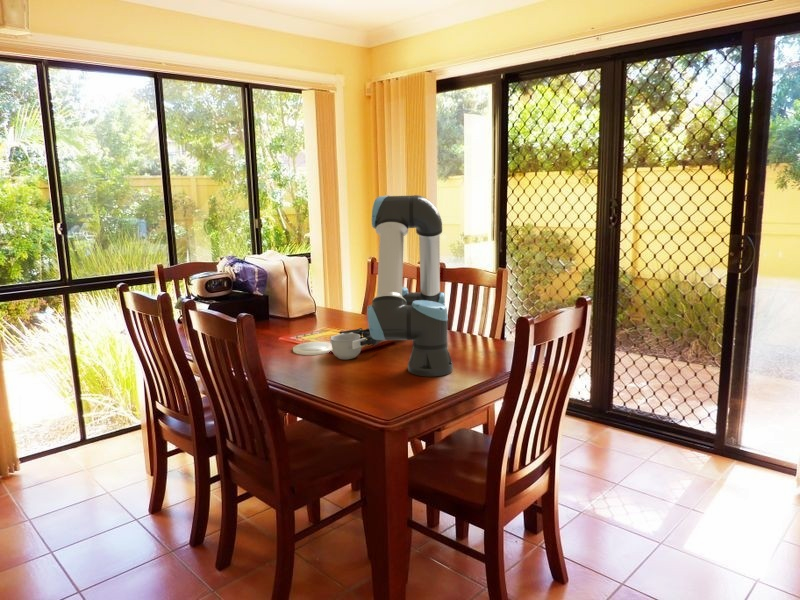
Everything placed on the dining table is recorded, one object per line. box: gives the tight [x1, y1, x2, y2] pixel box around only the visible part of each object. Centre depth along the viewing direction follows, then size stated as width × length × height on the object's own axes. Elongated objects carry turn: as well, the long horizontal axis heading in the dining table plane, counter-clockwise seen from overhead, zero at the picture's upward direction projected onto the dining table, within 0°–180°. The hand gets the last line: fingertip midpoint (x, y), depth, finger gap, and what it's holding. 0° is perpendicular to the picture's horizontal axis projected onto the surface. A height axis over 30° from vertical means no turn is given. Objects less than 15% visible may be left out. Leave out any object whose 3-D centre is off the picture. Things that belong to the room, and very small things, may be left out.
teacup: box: [331, 333, 362, 360], centre depth 218 cm, size 14×11×8 cm
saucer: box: [292, 341, 333, 356], centre depth 228 cm, size 16×16×1 cm
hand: (341, 342), depth 214 cm, fingers closed on teacup, 11 cm apart
